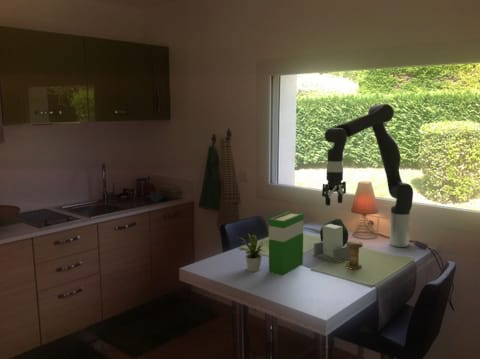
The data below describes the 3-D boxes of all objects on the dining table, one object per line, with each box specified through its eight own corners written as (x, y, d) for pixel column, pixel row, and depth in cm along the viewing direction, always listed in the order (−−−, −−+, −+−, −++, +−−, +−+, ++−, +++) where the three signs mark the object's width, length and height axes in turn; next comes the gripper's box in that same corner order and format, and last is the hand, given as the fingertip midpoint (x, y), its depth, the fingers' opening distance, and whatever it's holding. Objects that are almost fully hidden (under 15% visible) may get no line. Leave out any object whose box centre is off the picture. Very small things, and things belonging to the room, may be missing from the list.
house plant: (231, 265, 197) (230, 231, 195) (258, 261, 203) (258, 227, 200) (243, 276, 184) (243, 239, 182) (272, 271, 190) (272, 235, 187)
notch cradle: (329, 250, 218) (329, 238, 217) (352, 257, 207) (352, 245, 206) (313, 255, 211) (313, 243, 210) (335, 263, 200) (335, 250, 199)
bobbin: (352, 262, 200) (353, 240, 198) (364, 267, 194) (365, 243, 193) (342, 266, 196) (343, 242, 194) (355, 270, 190) (355, 246, 189)
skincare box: (343, 256, 207) (344, 226, 205) (334, 259, 203) (335, 228, 201) (330, 252, 214) (331, 223, 211) (321, 254, 210) (322, 224, 208)
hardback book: (288, 260, 204) (289, 211, 200) (302, 263, 199) (303, 213, 195) (268, 272, 189) (269, 219, 186) (283, 275, 185) (283, 221, 181)
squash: (310, 233, 229) (326, 216, 220) (327, 229, 239) (343, 213, 230) (325, 255, 222) (342, 238, 213) (342, 250, 232) (359, 234, 223)
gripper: (338, 168, 209) (337, 201, 212) (318, 171, 201) (317, 204, 203) (350, 169, 203) (349, 203, 206) (330, 172, 195) (329, 207, 197)
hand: (333, 204), depth 205 cm, fingers open, 8 cm apart
